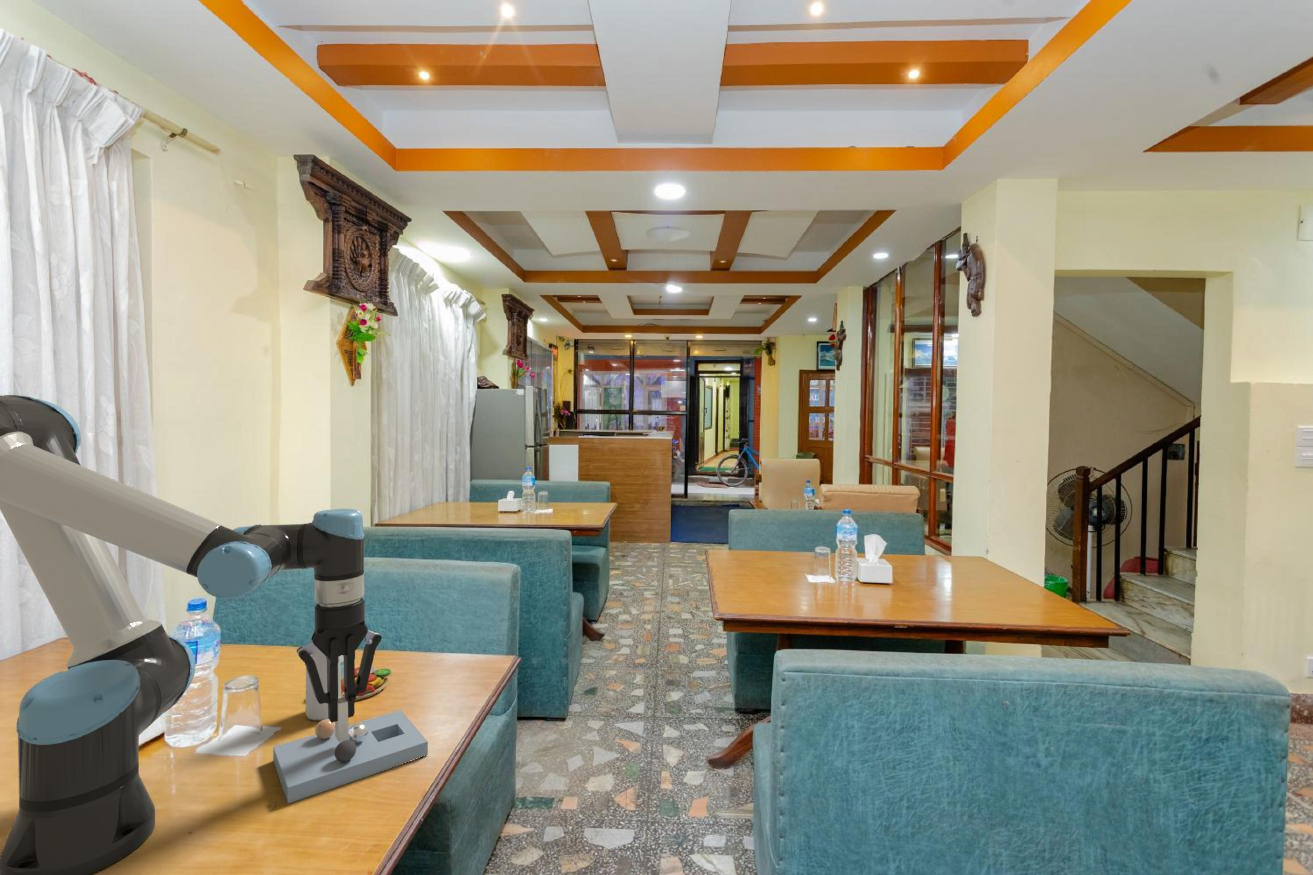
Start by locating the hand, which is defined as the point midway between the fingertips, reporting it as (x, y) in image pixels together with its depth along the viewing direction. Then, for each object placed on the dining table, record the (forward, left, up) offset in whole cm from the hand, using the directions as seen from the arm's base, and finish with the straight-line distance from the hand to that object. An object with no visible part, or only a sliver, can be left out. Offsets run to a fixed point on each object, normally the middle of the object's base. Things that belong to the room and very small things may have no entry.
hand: (341, 737), depth 101 cm
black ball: (0, -5, 0) cm, 5 cm away
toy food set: (+9, +29, -5) cm, 31 cm away
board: (+2, 0, -4) cm, 5 cm away
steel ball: (+3, 0, 0) cm, 3 cm away
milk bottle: (+2, +21, -5) cm, 22 cm away
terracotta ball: (-1, +5, 0) cm, 5 cm away
